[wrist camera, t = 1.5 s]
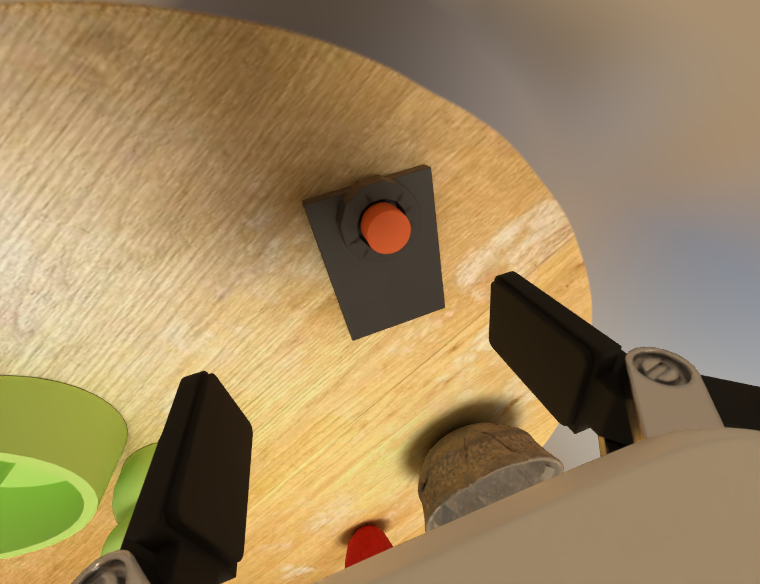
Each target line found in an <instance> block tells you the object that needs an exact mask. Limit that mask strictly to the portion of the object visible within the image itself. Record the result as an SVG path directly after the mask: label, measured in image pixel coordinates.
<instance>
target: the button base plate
mask: <svg viewBox="0 0 760 584" xmlns="http://www.w3.org/2000/svg"><path fill="white" fill-rule="evenodd" d="M379 202H387V203H391V204H392V205H394V206H395V207H396V208H398V209H399V210H400V211H401V212H402V213H403V214H404V215H405V216H406V217H407V218H408V220H409V222H410V226H411V233H410V237H409V239H408V241H407V243H406V244H405V245H404V247H402V248H401V249H400V250H399V251H397V252H394V253H391V254H382V253H378V252H376V251H375V250H373V249H372V248H371V246H370V245H369V243H368V242H367V240H366V239H365V237H364V236H363V234H362V231H361V226H360V224H361V218H362V216H363V214H364V212H365V211H366V210H367V209H368V208H369V207H370V206H372V205H373V204H376V203H379ZM303 205H304V208H305V211H306V214H307V217H308V219H309V222H310V225H311V228H312V230H313V233H314V236H315V239H316V241H317V244H318V247H319V250H320V252H321V255H322V258H323V261H324V263H325V266H326V269H327V272H328V274H329V277H330V280H331V283H332V285H333V288H334V291H335V294H336V296H337V299H338V302H339V305H340V307H341V310H342V313H343V316H344V319H345V321H346V324H347V327H348V330H349V332H350V335H351V338H352V340H353V341H354V340H357V339H359V338H362V337H365V336H368V335H371V334H373V333H376V332H379V331H382V330H384V329H387V328H390V327H393V326H396V325H398V324H401V323H404V322H407V321H409V320H412V319H415V318H418V317H421V316H423V315H426V314H429V313H432V312H434V311H437V310H440V309H443V308H445V302H444V292H443V282H442V272H441V262H440V252H439V243H438V233H437V223H436V213H435V203H434V193H433V183H432V173H431V167H429V166H427V165H422V166H418V167H415V168H412V169H408V170H405V171H401V172H398V173H395V174H391V175H388V176H385V177H383V176H379V175H377V176H374V177H370V178H367V179H363V180H360V181H357V182H356V183H355V184H354V185H353V186H351V187H348V188H344V189H341V190H338V191H334V192H331V193H327V194H324V195H321V196H317V197H314V198H311V199H307V200H304V201H303Z"/></svg>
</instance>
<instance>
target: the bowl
mask: <svg viewBox="0 0 760 584" xmlns="http://www.w3.org/2000/svg"><path fill="white" fill-rule="evenodd" d="M563 471H564V466H563V464H562V462H561V461H560V460H559V459H557V458H556V457H554V456H553V455H552V454H550V453H549V452H547V451H546V450H545V449H544V448H543V447H541V446H540V445H539V444H538V443H537V442H536V441H535V440H534V439H533V438H532V437H531V435H530V434H528V433H527V432H526V431H524V430H522V429H519V428H516V427H511V426H506V425H503V424H500V423H493V422H491V423H487V422H480V423H475V424H470V425H467V426H464V427H461V428H459V429H456V430H453V431H451V432H450V433H448V434H447V435H445V436H444V437H443V438H441V439H440V440H439V441H438V442H437V443H436V444H435V445H434V446H433V447H432V448H431V449H430V451H429V452H428V453H427V455H426V458H425V460H424V462H423V465H422V467H421V471H420V476H419V483H418V495H419V498H420V500H421V502H422V505H423V511H424V518H425V531H426V533H427V532H429V531H431V530H433V529H436V528H438V527H440V526H442V525H445V524H447V523H449V522H452V521H454V520H456V519H458V518H461V517H463V516H465V515H467V514H470V513H472V512H474V511H477V510H479V509H481V508H483V507H486V506H488V505H490V504H493V503H495V502H497V501H499V500H502V499H504V498H506V497H509V496H511V495H513V494H516V493H518V492H520V491H522V490H525V489H527V488H529V487H532V486H534V485H536V484H539V483H541V482H543V481H546V480H548V479H550V478H552V477H555V476H557V475H559V474H562V473H563Z"/></svg>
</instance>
